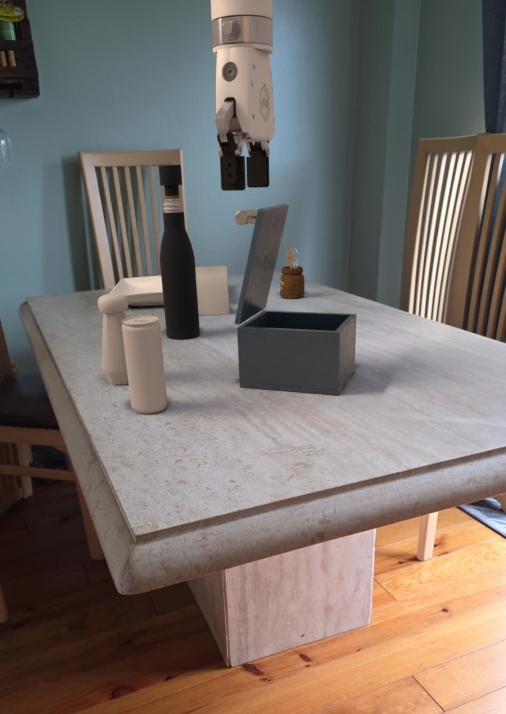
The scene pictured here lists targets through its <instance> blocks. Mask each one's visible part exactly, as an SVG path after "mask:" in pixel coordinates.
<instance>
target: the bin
mask: <svg viewBox="0 0 506 714" xmlns="http://www.w3.org/2000/svg"><path fill="white" fill-rule="evenodd" d="M236 330H237V331H236V336H237V337H236V338H237V357H238V358H237V359H238V378H239V379H238V380H239V388H244V389H256V390H269V391H282V392H294V393H307V394H318V395H330V396H339V395H340V394H341V392H342V390H343V389H344V387H346V384H347V383H348V382H349V380H350V379H351V377H352V376H353V374H354V372H355V371H356V369H355V368H356V343H357V341H356V340H357V313H344V312H343V313H342V312H339V313H338V312H318V311H317V312H316V311H315V312H314V311H290V310H289V311H288V310H287V311H286V310H265V309H263V310H262V311H260V312H258V313H257V314H255V315H254V316H252V317H251V318H249V319H248V320H246V321H245V322H243V323H241V324H240V325H238V326H237V327H236Z"/></svg>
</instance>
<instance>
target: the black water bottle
mask: <svg viewBox="0 0 506 714" xmlns="http://www.w3.org/2000/svg"><path fill="white" fill-rule="evenodd" d="M158 174H159V175H158V177H159V185H160V186H161V187H162V186H163V189H164V199H165V200H166V199H167V200H166V201H163V211H164V212H163V213H162V217H163V218H162V219H163V234H162V238H161V242H160V250H159V268H160V276H161V279H162V290H163V301H164V305H163V311H164V321H165V322H164V323H165V331H166V333H165V334H166V337H167V338H169V339H171V340H191V339H194V338H197V337H199V336H200V335H201V330H200V329H201V328H200V315H199V312H198V298H197V284H196V269H195V267H196V257H195V253H194V249H193V245H192V242H191V239H190V237H189V234H188V232H187V229H186V220H185V219H186V218H185V212H184V211H183V207H182V205H183V203H182V200H172V199H179V198H181V196H180V189H179V186H183V175H182V165H181V164H161V165H158ZM170 199H171V200H170Z"/></svg>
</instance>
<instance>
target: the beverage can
mask: <svg viewBox="0 0 506 714" xmlns="http://www.w3.org/2000/svg"><path fill="white" fill-rule="evenodd" d="M122 323H123V325H122V332H123V341H124V349H125V357H126V365H127V374H128V382H129V383H128V390H129V399H130V405H131V408H132V409H133V411H135V412H137V413H138V414H144V415H147V414H148V415H149V414H156V413H160V412H162V411H164V410H165V409H166V407H167V405H168V395H167V394H168V393H167V383H166V382H167V381H166V374H165V362H164V353H163V352H164V351H163V341H162V331H161V324H160V322H159V318H158V317H157V316H153V315H137V316H131V317H126V319H124V320H123V321H122Z"/></svg>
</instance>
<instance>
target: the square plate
mask: <svg viewBox="0 0 506 714" xmlns="http://www.w3.org/2000/svg"><path fill="white" fill-rule="evenodd" d="M109 294H122V295H124V296H125V297H126V298H127V300H128V306H133V307H153V306H155V307H156V306H164V301H163V290H162V279H161V275H150V276H149V275H148V276H137V277H124V278H121V279H120V280H119V281H118V282H117V284H116V285H115V286H114V287H113V288H112V290H111V291H110V292H109Z"/></svg>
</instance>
